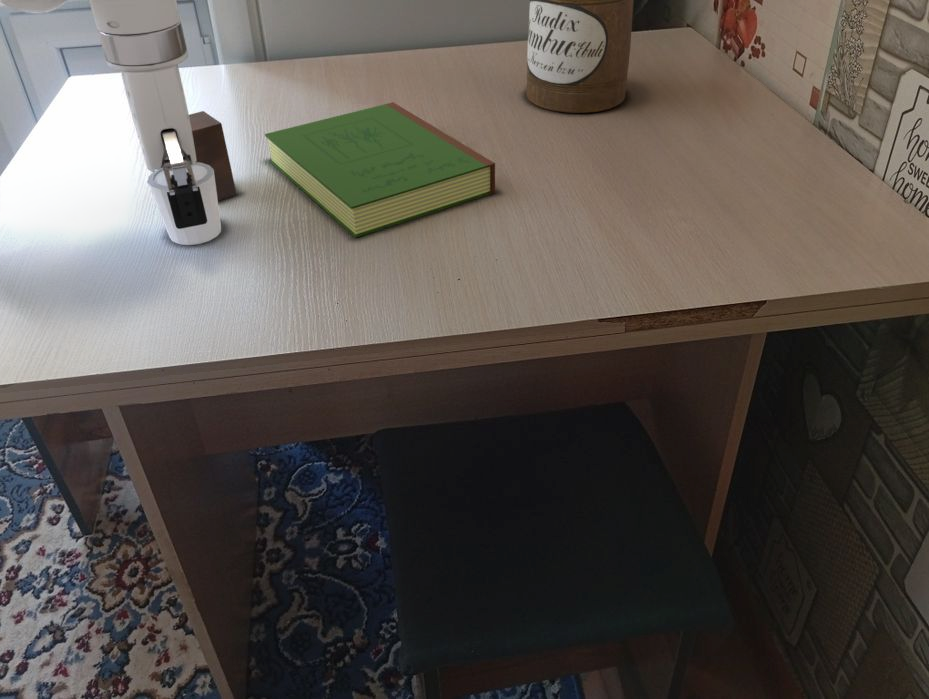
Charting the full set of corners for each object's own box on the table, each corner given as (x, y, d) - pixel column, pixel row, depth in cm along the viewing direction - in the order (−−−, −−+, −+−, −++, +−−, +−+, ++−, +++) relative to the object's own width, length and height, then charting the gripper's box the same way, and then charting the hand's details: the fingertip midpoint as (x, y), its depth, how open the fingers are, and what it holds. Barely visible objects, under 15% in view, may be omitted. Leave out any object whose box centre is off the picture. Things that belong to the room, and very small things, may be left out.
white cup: (206, 211, 92) (192, 155, 87) (239, 231, 88) (226, 173, 83) (152, 233, 88) (135, 175, 84) (183, 254, 84) (167, 195, 80)
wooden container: (506, 99, 118) (508, -64, 105) (563, 72, 127) (572, -81, 113) (589, 122, 111) (603, -50, 97) (643, 92, 119) (663, -69, 106)
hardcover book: (494, 192, 94) (495, 163, 92) (355, 237, 86) (351, 207, 84) (392, 126, 111) (390, 100, 108) (267, 159, 103) (262, 132, 100)
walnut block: (197, 207, 92) (179, 134, 87) (181, 193, 96) (162, 121, 90) (237, 195, 95) (221, 123, 89) (219, 181, 98) (203, 110, 92)
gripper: (97, 25, 80) (141, 180, 91) (109, 77, 68) (158, 249, 78) (173, 16, 83) (207, 168, 93) (198, 65, 70) (234, 234, 80)
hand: (185, 205), depth 86 cm, fingers open, 9 cm apart
